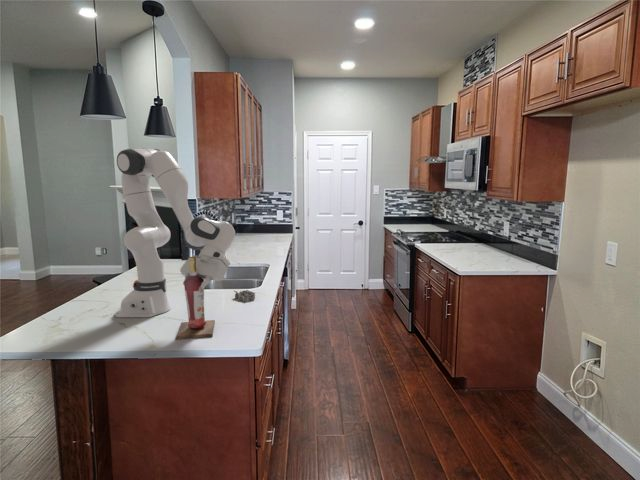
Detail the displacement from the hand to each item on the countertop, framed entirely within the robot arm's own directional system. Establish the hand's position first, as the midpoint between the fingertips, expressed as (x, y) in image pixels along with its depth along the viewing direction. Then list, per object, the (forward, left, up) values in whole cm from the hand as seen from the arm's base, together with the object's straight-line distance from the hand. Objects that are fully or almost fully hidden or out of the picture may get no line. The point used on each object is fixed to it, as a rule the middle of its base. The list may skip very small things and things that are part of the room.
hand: (193, 286), depth 150 cm
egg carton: (+20, +41, -18) cm, 49 cm away
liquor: (+1, +1, -17) cm, 17 cm away
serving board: (0, 0, -18) cm, 18 cm away
